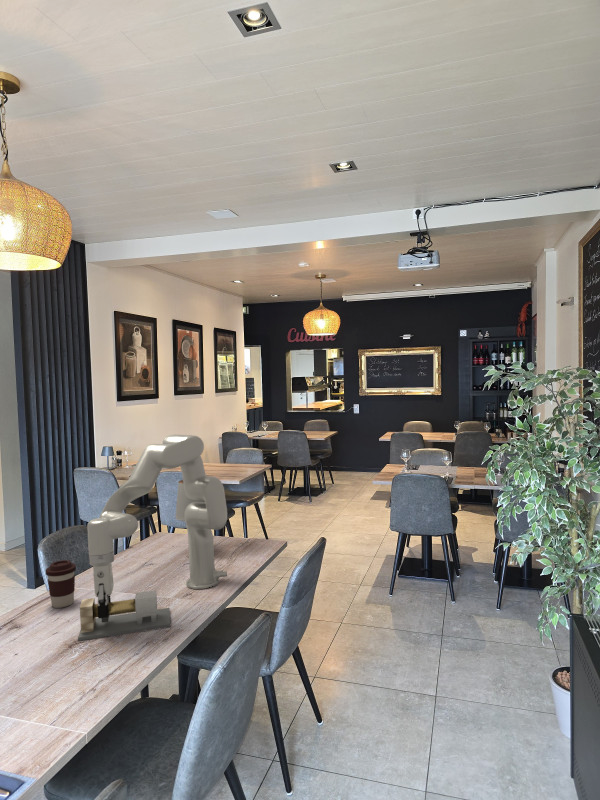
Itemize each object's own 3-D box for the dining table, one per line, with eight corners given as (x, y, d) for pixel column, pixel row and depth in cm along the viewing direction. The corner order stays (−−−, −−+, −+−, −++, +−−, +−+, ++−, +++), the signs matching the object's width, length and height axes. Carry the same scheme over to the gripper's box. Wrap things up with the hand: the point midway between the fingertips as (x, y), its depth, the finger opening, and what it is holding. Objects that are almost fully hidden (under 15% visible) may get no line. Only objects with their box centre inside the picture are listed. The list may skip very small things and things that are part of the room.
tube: (144, 609, 177) (143, 590, 177) (144, 616, 172) (143, 596, 172) (86, 618, 173) (85, 598, 173) (84, 625, 168) (83, 604, 168)
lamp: (186, 548, 253) (182, 477, 252) (224, 548, 251) (221, 476, 249) (170, 561, 234) (167, 484, 233) (212, 562, 232) (209, 484, 231)
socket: (95, 622, 174) (94, 598, 174) (93, 631, 168) (92, 606, 168) (83, 623, 173) (82, 599, 173) (81, 632, 167) (79, 607, 167)
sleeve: (157, 613, 179) (156, 590, 179) (157, 621, 173) (156, 596, 173) (137, 616, 177) (135, 592, 177) (136, 624, 172) (135, 599, 171)
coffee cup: (83, 600, 196) (81, 559, 195) (63, 611, 186) (61, 568, 186) (62, 597, 199) (59, 557, 199) (41, 608, 190) (38, 566, 189)
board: (169, 610, 183) (169, 607, 183) (170, 626, 171) (170, 623, 171) (83, 623, 176) (83, 620, 176) (78, 640, 164) (77, 637, 164)
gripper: (111, 564, 164) (114, 622, 164) (116, 548, 180) (118, 600, 181) (85, 567, 162) (88, 626, 162) (92, 551, 179) (95, 604, 179)
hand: (104, 612), depth 172 cm, fingers open, 6 cm apart
